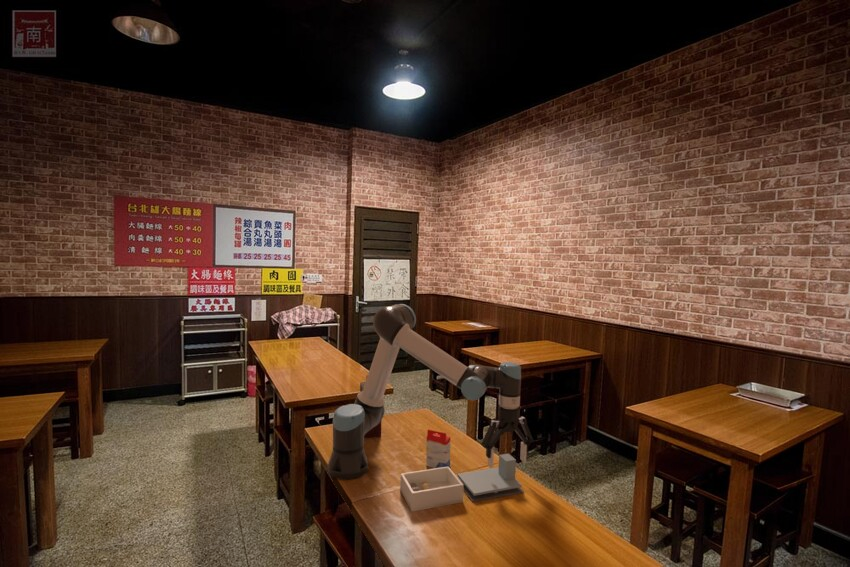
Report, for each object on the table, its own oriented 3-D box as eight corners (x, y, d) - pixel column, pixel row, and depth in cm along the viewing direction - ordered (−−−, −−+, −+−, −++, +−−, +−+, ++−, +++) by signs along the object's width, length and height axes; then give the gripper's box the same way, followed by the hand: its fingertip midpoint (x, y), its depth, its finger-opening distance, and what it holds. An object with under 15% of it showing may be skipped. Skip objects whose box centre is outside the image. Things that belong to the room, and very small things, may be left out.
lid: (473, 499, 140) (474, 473, 140) (457, 479, 153) (457, 455, 152) (521, 490, 146) (522, 465, 146) (501, 472, 159) (502, 448, 159)
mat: (472, 502, 139) (472, 501, 139) (454, 479, 153) (454, 478, 153) (524, 492, 146) (524, 491, 146) (502, 472, 160) (502, 470, 160)
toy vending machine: (377, 427, 199) (378, 369, 198) (381, 437, 189) (382, 376, 187) (358, 429, 197) (359, 370, 196) (361, 438, 186) (362, 377, 185)
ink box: (450, 465, 164) (451, 429, 163) (445, 471, 159) (446, 433, 159) (430, 460, 168) (431, 425, 167) (425, 466, 163) (426, 429, 162)
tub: (411, 511, 133) (412, 493, 133) (400, 490, 145) (400, 473, 145) (462, 502, 139) (463, 484, 139) (447, 482, 151) (448, 466, 151)
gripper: (483, 412, 143) (480, 473, 144) (544, 406, 151) (542, 463, 152) (473, 405, 150) (471, 463, 151) (532, 399, 158) (530, 454, 159)
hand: (506, 463), depth 152 cm, fingers open, 13 cm apart
